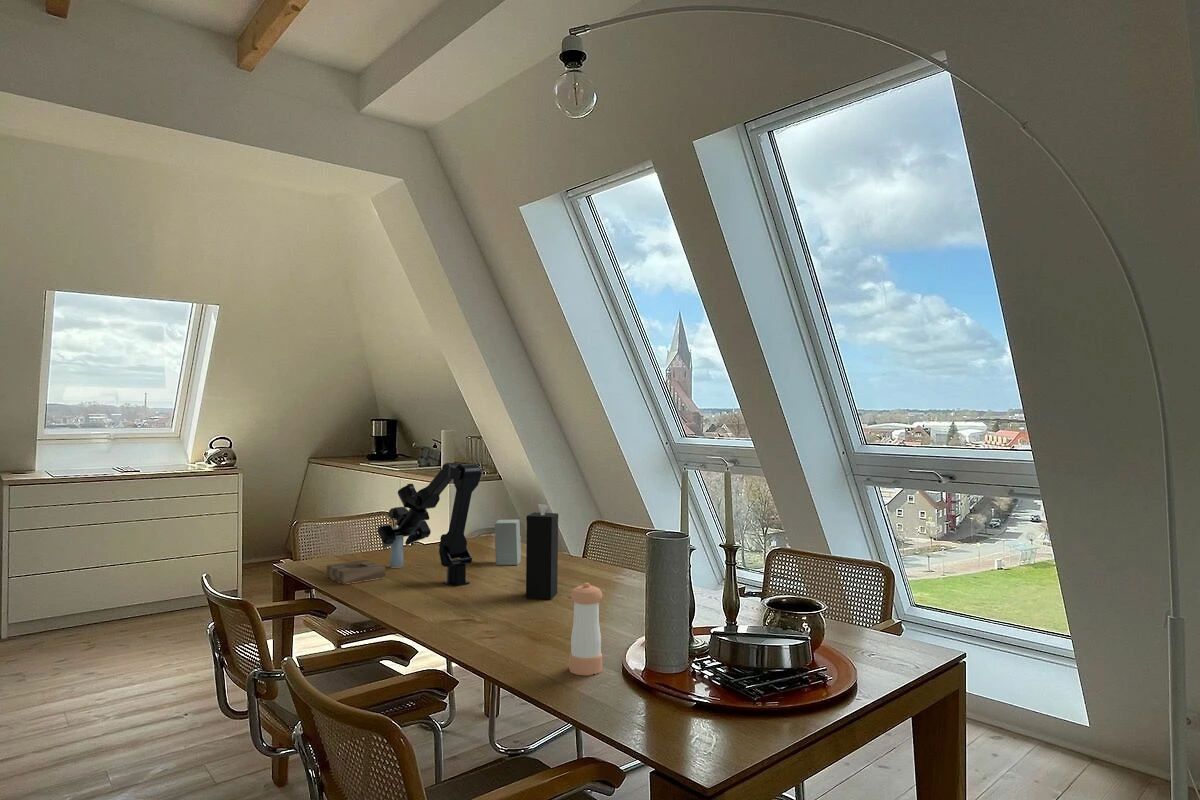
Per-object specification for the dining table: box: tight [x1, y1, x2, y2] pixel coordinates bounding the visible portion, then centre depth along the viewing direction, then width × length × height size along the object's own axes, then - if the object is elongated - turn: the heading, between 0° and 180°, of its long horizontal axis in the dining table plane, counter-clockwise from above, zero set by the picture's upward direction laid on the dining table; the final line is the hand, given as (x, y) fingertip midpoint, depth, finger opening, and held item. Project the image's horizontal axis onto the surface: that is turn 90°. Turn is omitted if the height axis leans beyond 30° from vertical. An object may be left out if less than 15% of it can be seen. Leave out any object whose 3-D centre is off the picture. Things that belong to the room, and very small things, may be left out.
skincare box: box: [494, 519, 522, 566], centre depth 281 cm, size 8×7×16 cm
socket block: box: [326, 559, 386, 584], centre depth 256 cm, size 14×14×4 cm
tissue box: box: [525, 503, 559, 600], centre depth 236 cm, size 8×8×28 cm
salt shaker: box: [568, 582, 603, 676], centre depth 171 cm, size 7×7×19 cm
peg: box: [389, 526, 404, 567], centre depth 273 cm, size 4×4×14 cm
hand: (394, 546), depth 274 cm, fingers open, 9 cm apart
